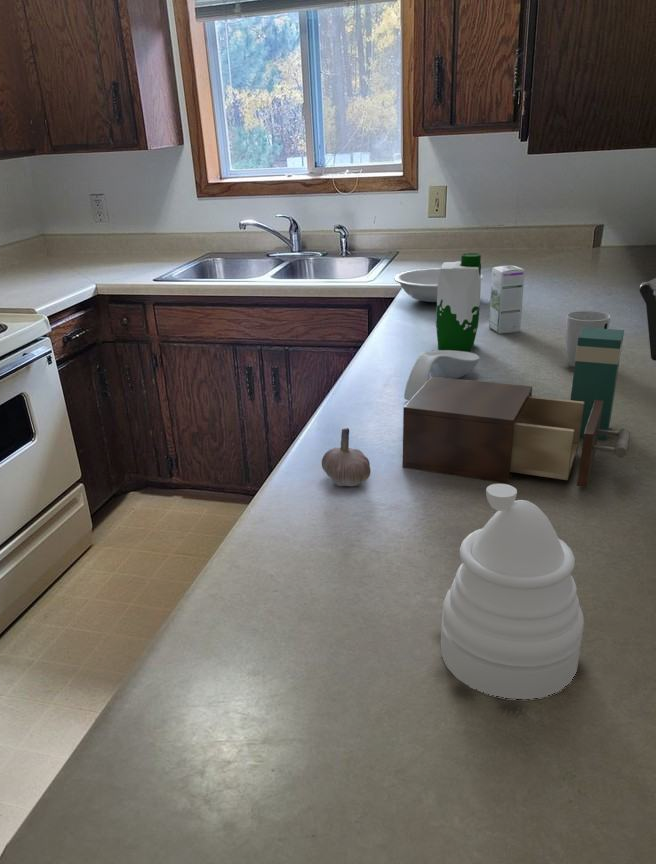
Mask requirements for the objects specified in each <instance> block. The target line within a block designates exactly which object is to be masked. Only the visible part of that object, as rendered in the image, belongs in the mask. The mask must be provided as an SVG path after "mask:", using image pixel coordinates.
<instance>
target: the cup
mask: <svg viewBox="0 0 656 864" xmlns="http://www.w3.org/2000/svg"><path fill="white" fill-rule="evenodd" d="M565 318H566V319H565V348H566V349H565V350H566V356H567V361H568V365H569V366H570V367H572V368H575V357H576V349H577V344H578V337H579V335H580V333H581V331H582V329H583V327H584V328H599V329H609V326H610V322H611V315H610V314H608V313H607V312H602V311H596V310H595V311H594V310H575V311H571V312H568V313H567V314H566V317H565Z"/></svg>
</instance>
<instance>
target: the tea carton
mask: <svg viewBox="0 0 656 864" xmlns="http://www.w3.org/2000/svg"><path fill="white" fill-rule="evenodd" d="M624 334H625V330H624V329H615V328H614V329H613V328H612V329H611V328H608V329H599V328H584V327H583V329H582V331H581V333H580V335H579V337H578V344H577V349H576V357H575V367H573V368H574V370H573V376H572V385H571V393H570V400H573V401H583V402H584V410H583V417H582V425H581V432H580V438H583V437H584V432H585V429H586V426H587V422H588V419H589V416H590V413H591V410H592V407H593V404H594V401H595V400H602V401H603V408H602V414H601V421H600V428H599V429H602V430H610V425H611V421H612V419H611V418H612V411H613V406H614V399H615V393H616V387H617V386H616V385H617V380H618V375H619V374H618V373H619V366H620V361H621V354H622V350H623V344H624V343H623V342H624ZM607 437H608V435H601V434H599V435H598V440H602V441H603V440H604V441H607Z"/></svg>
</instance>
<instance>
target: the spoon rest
mask: <svg viewBox="0 0 656 864" xmlns="http://www.w3.org/2000/svg"><path fill="white" fill-rule="evenodd" d="M479 361H480V356H479V355H478V354H476V353H474V352H464V351H452V350H438V349H437V350H429V351H423V352H421V353H419V354H418V357H417V359H416V360H415V363H414V365H413V366H412V369H411V371H410V374H409V376H408V379H407V382H406V384H405V389H404V395H403V398H404V400H406V401H410V400H411V399H412V398H413V397H414V396H415V394H416V393H417V392H418V391H419V390H420V389H421V388H422V387H423V386H424V385H425V384H426V383H427V382H428V380H429V379H430V374H431V377H443V378H453V379H461V378H462V377H463V376H465V375H467V374H469V373H470V372H472V371H473V369H475V368H476V366H477V365H478V364H479Z"/></svg>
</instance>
